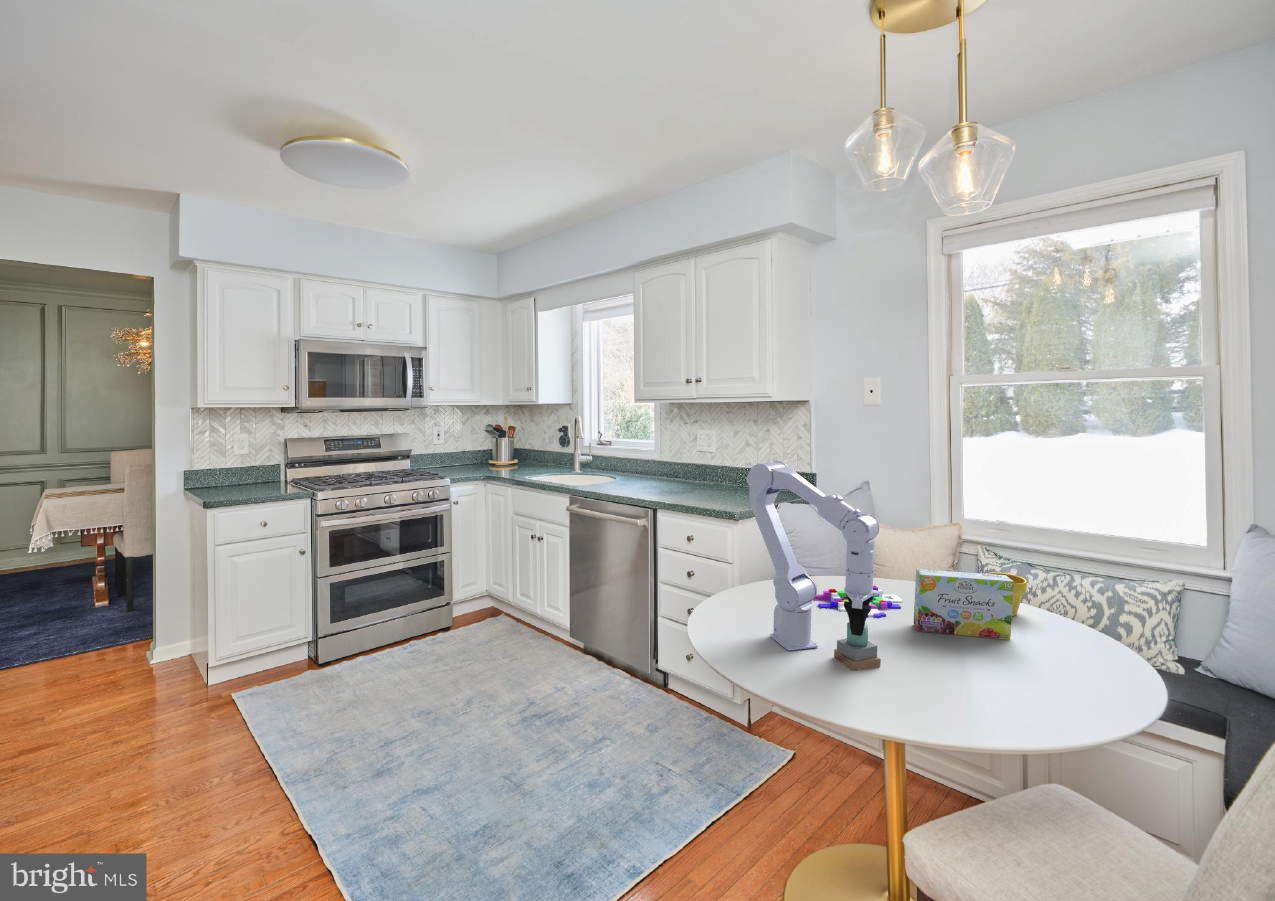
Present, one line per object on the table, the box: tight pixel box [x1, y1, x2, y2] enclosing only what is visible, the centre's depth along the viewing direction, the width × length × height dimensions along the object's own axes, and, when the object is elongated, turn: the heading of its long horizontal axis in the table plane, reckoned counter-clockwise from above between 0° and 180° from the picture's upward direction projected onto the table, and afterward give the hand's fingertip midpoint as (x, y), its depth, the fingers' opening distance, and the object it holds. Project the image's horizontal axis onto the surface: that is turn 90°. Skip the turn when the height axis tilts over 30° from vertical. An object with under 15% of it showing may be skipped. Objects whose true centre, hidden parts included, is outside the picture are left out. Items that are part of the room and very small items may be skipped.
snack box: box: [913, 568, 1014, 641], centre depth 154 cm, size 21×6×15 cm, turn 76°
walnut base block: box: [833, 648, 882, 671], centre depth 137 cm, size 7×7×2 cm
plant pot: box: [985, 572, 1028, 617], centre depth 169 cm, size 10×10×10 cm
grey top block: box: [836, 637, 878, 661], centre depth 137 cm, size 6×6×2 cm
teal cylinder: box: [846, 621, 869, 647], centre depth 136 cm, size 4×4×4 cm
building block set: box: [813, 584, 904, 619], centre depth 175 cm, size 25×20×4 cm
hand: (857, 630), depth 136 cm, fingers open, 5 cm apart
